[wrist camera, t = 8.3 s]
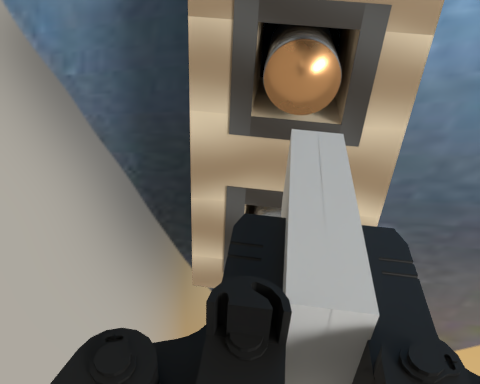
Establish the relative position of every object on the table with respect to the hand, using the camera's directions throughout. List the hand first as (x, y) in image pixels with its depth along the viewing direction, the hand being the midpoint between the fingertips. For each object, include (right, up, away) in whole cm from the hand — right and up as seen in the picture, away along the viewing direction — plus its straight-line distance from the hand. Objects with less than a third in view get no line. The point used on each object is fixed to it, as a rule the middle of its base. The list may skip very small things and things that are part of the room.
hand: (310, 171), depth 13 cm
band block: (+2, +5, +18) cm, 19 cm away
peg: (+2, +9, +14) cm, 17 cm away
